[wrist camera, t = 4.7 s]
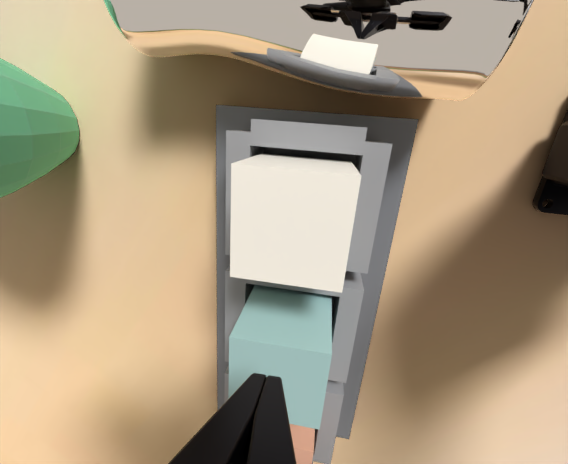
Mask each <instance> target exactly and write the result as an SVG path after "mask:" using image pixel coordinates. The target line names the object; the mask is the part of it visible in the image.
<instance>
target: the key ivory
mask: <svg viewBox="0 0 568 464" xmlns="http://www.w3.org/2000/svg"><path fill="white" fill-rule="evenodd" d="M360 182H361V175H360V173H359V172H358V170H357V169H356V167H355V166H354V165H353V163H352V162H351V161H341V160H330V159H319V158H307V157H296V156H285V155H274V154H263V153H262V154H259V155H256V156H253V157H250V158H247V159H244V160H240V161H237V162H234V163H231V228H230V277H235V278H242V279H249V280H256V281H263V282H270V283H277V284H284V285H291V286H298V287H305V288H312V289H319V290H326V291H333V292H340V293H342V291H343V285H344V279H345V273H346V267H347V261H348V255H349V249H350V242H351V236H352V230H353V224H354V218H355V212H356V206H357V200H358V194H359V188H360Z"/></svg>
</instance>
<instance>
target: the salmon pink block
mask: <svg viewBox="0 0 568 464" xmlns="http://www.w3.org/2000/svg"><path fill="white" fill-rule="evenodd" d="M290 429H291V435H292V441H293V446H294V452H295V458H296V463H297V464H312V460H313V453H314V437H315V429H313V428H308V427H303V426H299V425H294V424H290Z"/></svg>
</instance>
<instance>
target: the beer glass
mask: <svg viewBox="0 0 568 464" xmlns="http://www.w3.org/2000/svg"><path fill="white" fill-rule="evenodd" d="M103 1H104V3H105V6H106V8H107V10H108V12H109V14H110V16H111V18H112V20H113V22H114V23H115V25H116V27H117V28H118V30H119V31H120V32H121V34H122V35H123V37H124V38H125V39H126V40H127V41H128V43H129V44H130V45H131V46H132V47H134V48H135V49H136V50H137V51H139V52H140V53H142V54H144V55H147V56H150V57H172V56H181V55H191V54H207V55H218V56H223V57H228V58H234V59H237V60H240V61H244V62H247V63H250V64H254V65H257V66H260V67H263V68H266V69H269V70H272V71H275V72H278V73H280V74H284V75H287V76H290V77H293V78H296V79H299V80H302V81H305V82H308V83H312V84H316V85H320V86H323V87H327V88H331V89H335V90H340V91H346V92H352V93H358V94H364V95H374V96H385V97H398V98H417V99H445V100H455V101H463V100H465V99H467V98H469V97H470V96H472V95H473V94H474V93H475V92H476V91H478V89H479V88H480V87H481V86H482V85H483V84H484V83H485V82H486V81H487V79H488V78H489V77H490V76H491V74H492V73H493V72H494V70H495V69H496V68H497V66H498V65H499V63H500V62H501V60H502V59H503V57H504V56H505V54H506V52H507V51H508V49H509V48H510V46H511V44H512V42H513V41H514V39H515V37H516V35H517V34H518V32H519V30H520V28H521V26H522V24H523V22H524V20H525V18H526V16H527V14H528V12H529V10H530V8H531V6H532V4H533V2H534V0H103Z"/></svg>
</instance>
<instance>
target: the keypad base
mask: <svg viewBox="0 0 568 464" xmlns="http://www.w3.org/2000/svg"><path fill="white" fill-rule="evenodd" d="M417 124H418V119H406V118H392V117H378V116H364V115H350V114H336V113H323V112H309V111H295V110H281V109H267V108H253V107H239V106H225V105H216V185H217V386H218V410H219V409H220V407H221V406H222V405H223V404H224V403H225V402H226V401H227V400H228V391H229V336H230V334H231V332H232V330H233V328H234V326H235V324H236V322H237V320H238V318H239V316H240V314H241V312H242V310H243V308H244V306H245V304H246V302H247V300H248V298H249V296H250V294H251V292H252V290H253V288H254V286H255V285H262V286H269V287H275V288H282V289H289V290H296V291H303V292H310V293H317V294H324V295H330V296H332V357H331V364H330V370H329V376H328V382H327V388H326V394H325V400H324V406H323V412H322V418H321V424H320V430H318V429H315V437H314V453H313V460H312V464H313V461H315V462H320V463H324V464H331V459H332V453H333V448H334V443H335V438H336V437H341V438H346V439H349V436H350V432H351V427H352V423H353V418H354V413H355V409H356V404H357V400H358V395H359V390H360V386H361V381H362V377H363V372H364V367H365V363H366V358H367V354H368V349H369V345H370V340H371V335H372V331H373V326H374V322H375V317H376V312H377V308H378V303H379V299H380V294H381V289H382V285H383V280H384V276H385V271H386V266H387V262H388V257H389V253H390V248H391V243H392V239H393V234H394V230H395V225H396V220H397V216H398V211H399V207H400V202H401V197H402V193H403V188H404V184H405V179H406V174H407V170H408V165H409V161H410V156H411V151H412V147H413V142H414V138H415V133H416V129H417ZM262 153H263V154H274V155H285V156H296V157H307V158H319V159H330V160H341V161H351V162H352V163H353V165H354V166H355V167H356V169H357V170H358V172H359V173H360V175H361V182H360V188H359V194H358V200H357V206H356V212H355V218H354V224H353V230H352V236H351V242H350V249H349V255H348V261H347V267H346V273H345V279H344V285H343V291H342V293H340V292H333V291H326V290H319V289H312V288H305V287H298V286H291V285H284V284H277V283H270V282H263V281H256V280H249V279H242V278H235V277H230V228H231V163H234V162H237V161H240V160H244V159H247V158H250V157H253V156H256V155H259V154H262Z"/></svg>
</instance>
